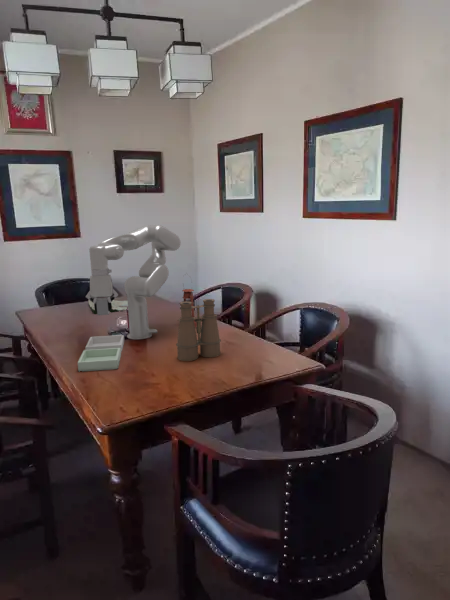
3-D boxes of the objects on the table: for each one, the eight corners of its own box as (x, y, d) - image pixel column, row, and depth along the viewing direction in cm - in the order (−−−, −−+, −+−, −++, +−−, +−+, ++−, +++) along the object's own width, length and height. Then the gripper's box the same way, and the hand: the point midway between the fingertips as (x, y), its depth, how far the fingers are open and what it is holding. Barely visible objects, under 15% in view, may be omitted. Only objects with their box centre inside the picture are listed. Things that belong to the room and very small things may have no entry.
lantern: (177, 327, 244) (175, 273, 238) (185, 322, 254) (184, 271, 247) (193, 328, 241) (191, 274, 234) (201, 324, 250) (199, 271, 244)
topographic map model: (139, 300, 317) (139, 293, 316) (149, 309, 290) (149, 301, 289) (88, 305, 303) (87, 298, 302) (94, 315, 277) (93, 307, 276)
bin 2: (121, 356, 200) (120, 347, 199) (117, 368, 185) (117, 359, 184) (84, 358, 198) (83, 350, 197) (78, 371, 182) (77, 362, 182)
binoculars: (180, 362, 191) (178, 306, 185) (173, 355, 200) (171, 301, 194) (224, 355, 199) (223, 301, 193) (216, 348, 208) (214, 296, 202)
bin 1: (124, 342, 219) (123, 334, 219) (121, 353, 204) (121, 344, 203) (91, 344, 217) (90, 336, 216) (86, 355, 202) (85, 347, 201)
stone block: (109, 311, 210) (108, 297, 208) (108, 314, 205) (107, 299, 203) (98, 312, 209) (97, 298, 207) (97, 315, 204) (96, 300, 203)
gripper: (119, 270, 207) (122, 308, 212) (82, 272, 205) (86, 310, 209) (118, 273, 200) (121, 311, 204) (79, 274, 198) (83, 314, 202)
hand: (103, 310), depth 207 cm, fingers closed on stone block, 5 cm apart
